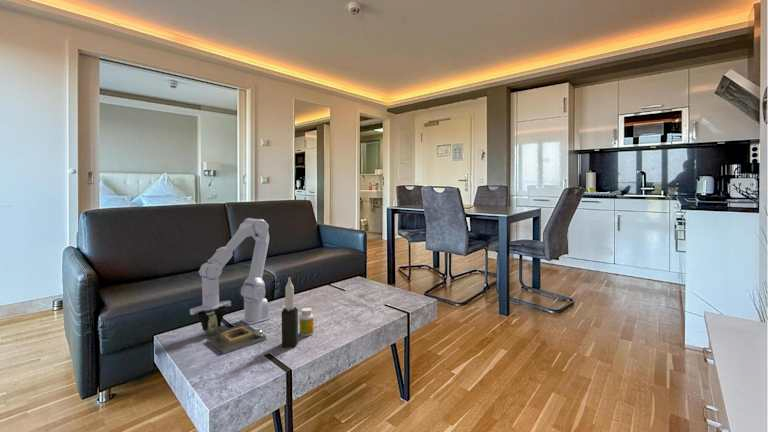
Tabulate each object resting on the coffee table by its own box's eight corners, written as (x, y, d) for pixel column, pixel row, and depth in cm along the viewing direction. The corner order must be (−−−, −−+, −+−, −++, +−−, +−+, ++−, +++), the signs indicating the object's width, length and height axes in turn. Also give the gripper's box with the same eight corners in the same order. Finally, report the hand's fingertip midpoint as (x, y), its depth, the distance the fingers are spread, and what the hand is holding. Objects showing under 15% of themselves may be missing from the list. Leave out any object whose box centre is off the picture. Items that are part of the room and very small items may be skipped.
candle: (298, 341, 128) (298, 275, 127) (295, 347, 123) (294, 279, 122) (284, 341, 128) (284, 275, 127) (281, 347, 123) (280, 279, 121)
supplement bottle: (299, 336, 133) (299, 312, 132) (299, 331, 138) (299, 307, 137) (314, 335, 134) (314, 311, 133) (313, 330, 139) (313, 306, 139)
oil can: (215, 330, 138) (214, 307, 137) (220, 333, 135) (219, 310, 134) (203, 334, 134) (202, 310, 134) (207, 337, 131) (207, 313, 131)
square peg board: (248, 329, 139) (248, 321, 139) (266, 339, 130) (266, 330, 129) (207, 341, 127) (206, 332, 127) (222, 354, 118) (222, 344, 118)
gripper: (194, 300, 125) (195, 336, 126) (234, 292, 136) (234, 325, 137) (187, 296, 130) (188, 331, 131) (226, 288, 141) (227, 320, 142)
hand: (211, 328), depth 134 cm, fingers closed on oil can, 5 cm apart
